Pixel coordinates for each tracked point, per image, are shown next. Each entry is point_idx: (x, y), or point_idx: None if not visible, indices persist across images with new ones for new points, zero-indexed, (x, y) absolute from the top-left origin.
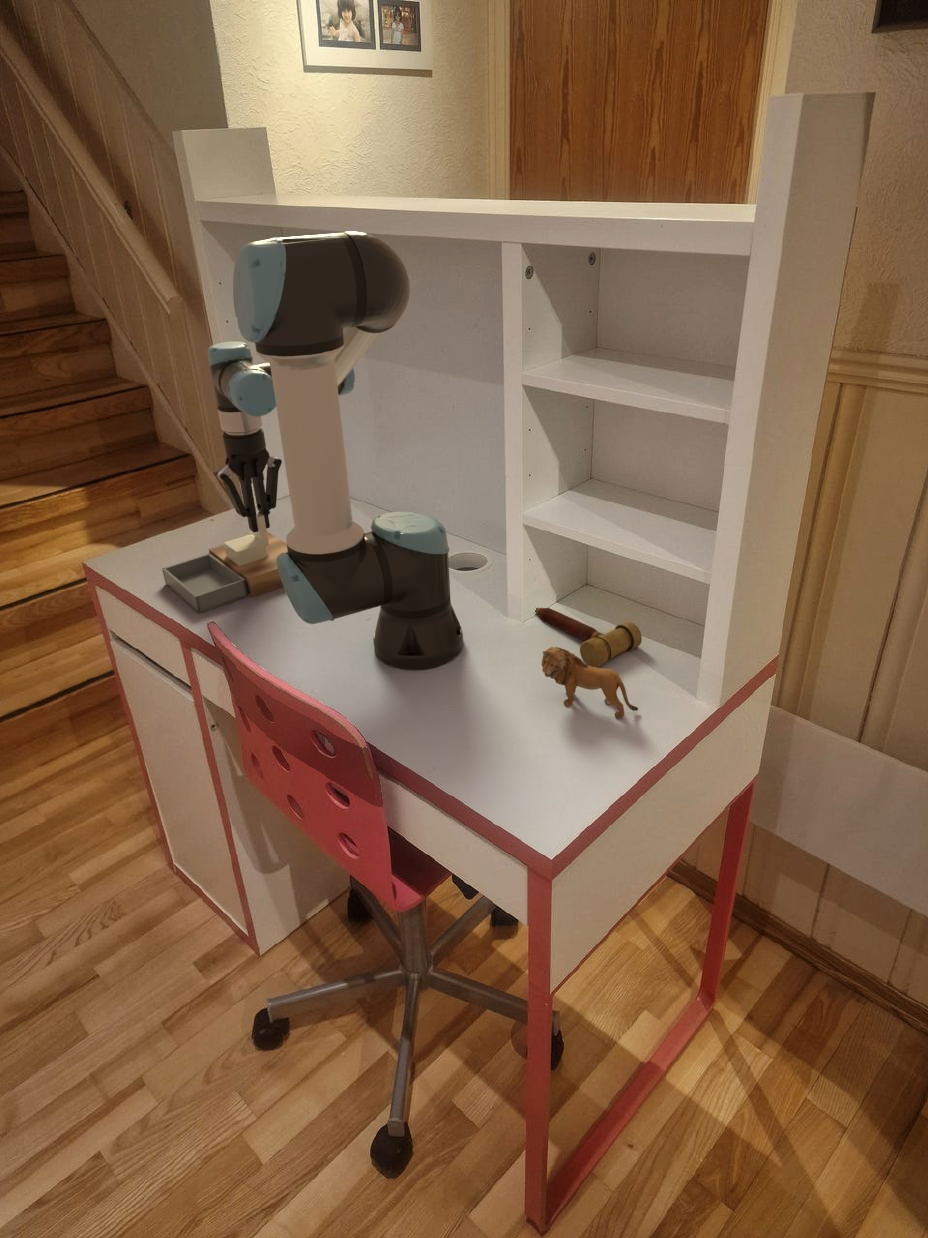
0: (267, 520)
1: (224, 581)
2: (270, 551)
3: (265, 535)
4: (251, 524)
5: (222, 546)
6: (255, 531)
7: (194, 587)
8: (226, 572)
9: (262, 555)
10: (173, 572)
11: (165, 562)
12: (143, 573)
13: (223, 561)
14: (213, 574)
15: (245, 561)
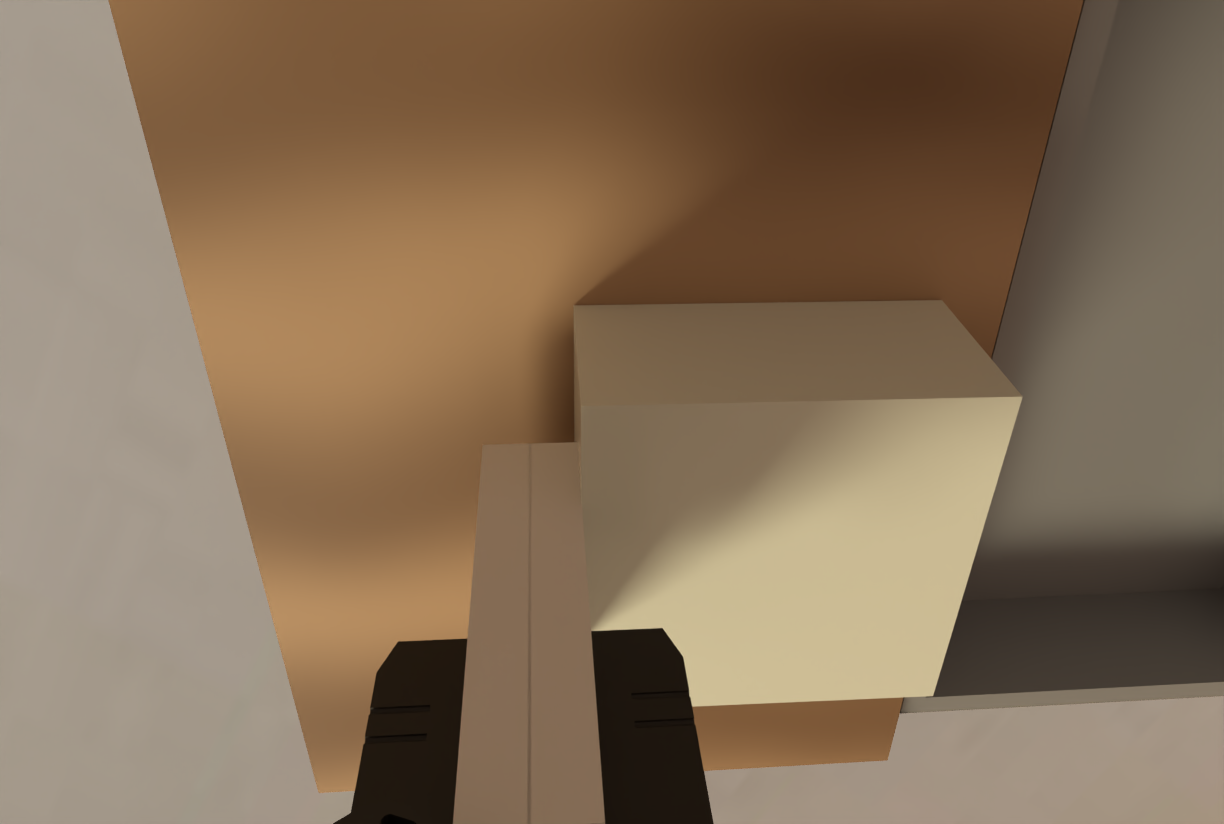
0: (392, 745)
1: None
2: (477, 410)
3: (505, 543)
4: (697, 744)
5: (779, 741)
6: (635, 636)
7: (1190, 405)
8: None
9: (638, 324)
10: (1211, 638)
11: (995, 818)
12: (1173, 773)
13: None
14: None
15: (870, 316)
